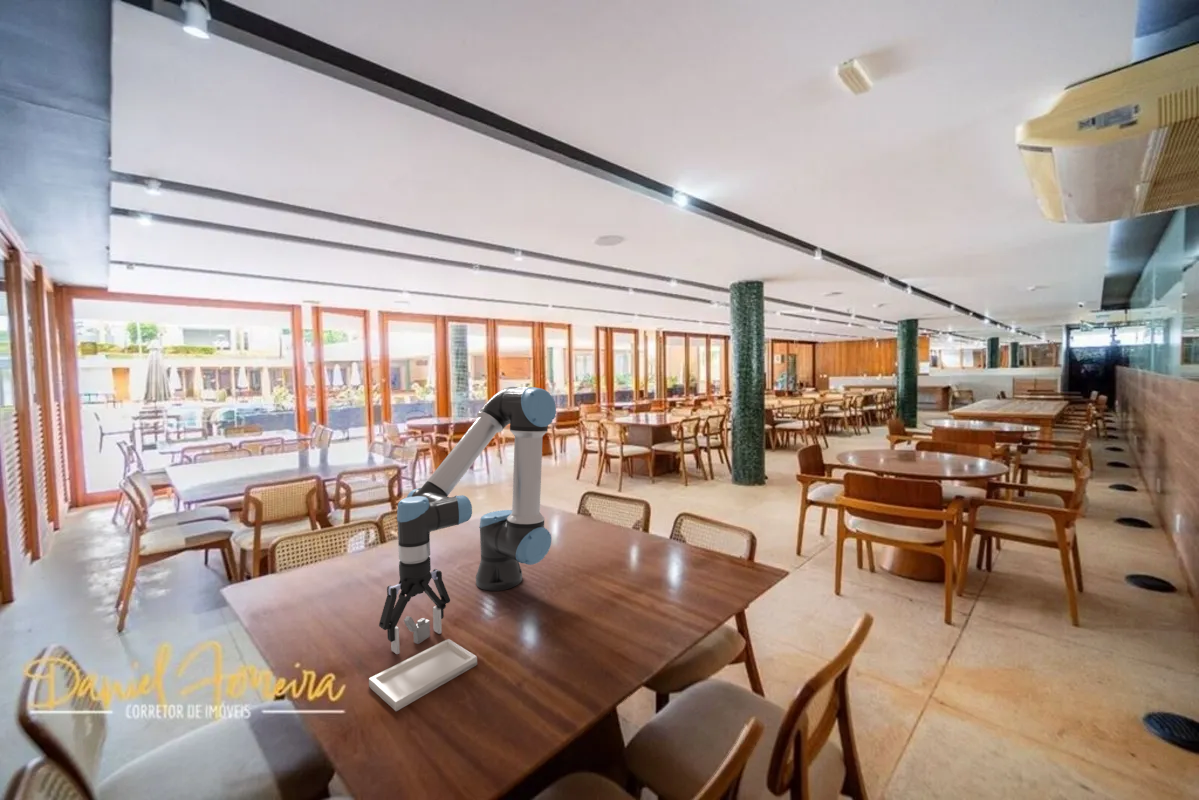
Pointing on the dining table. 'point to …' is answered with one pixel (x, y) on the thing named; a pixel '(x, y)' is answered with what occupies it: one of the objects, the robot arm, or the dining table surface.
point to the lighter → (418, 628)
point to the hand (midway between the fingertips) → (417, 641)
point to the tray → (421, 673)
